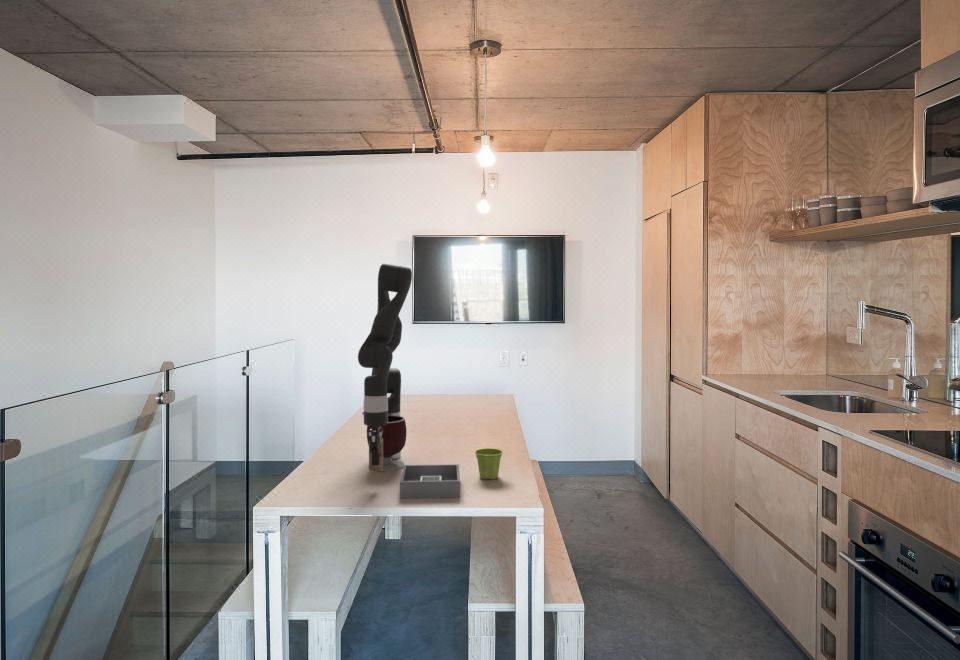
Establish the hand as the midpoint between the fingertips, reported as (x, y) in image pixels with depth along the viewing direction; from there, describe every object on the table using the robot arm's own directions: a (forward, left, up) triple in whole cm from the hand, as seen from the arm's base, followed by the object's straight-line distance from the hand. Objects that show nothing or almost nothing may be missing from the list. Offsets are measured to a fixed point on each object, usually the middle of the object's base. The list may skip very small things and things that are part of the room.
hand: (376, 462), depth 195 cm
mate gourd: (-24, 0, -8) cm, 25 cm away
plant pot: (-10, +36, -8) cm, 38 cm away
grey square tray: (+1, +17, -8) cm, 19 cm away
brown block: (0, 0, -2) cm, 2 cm away
